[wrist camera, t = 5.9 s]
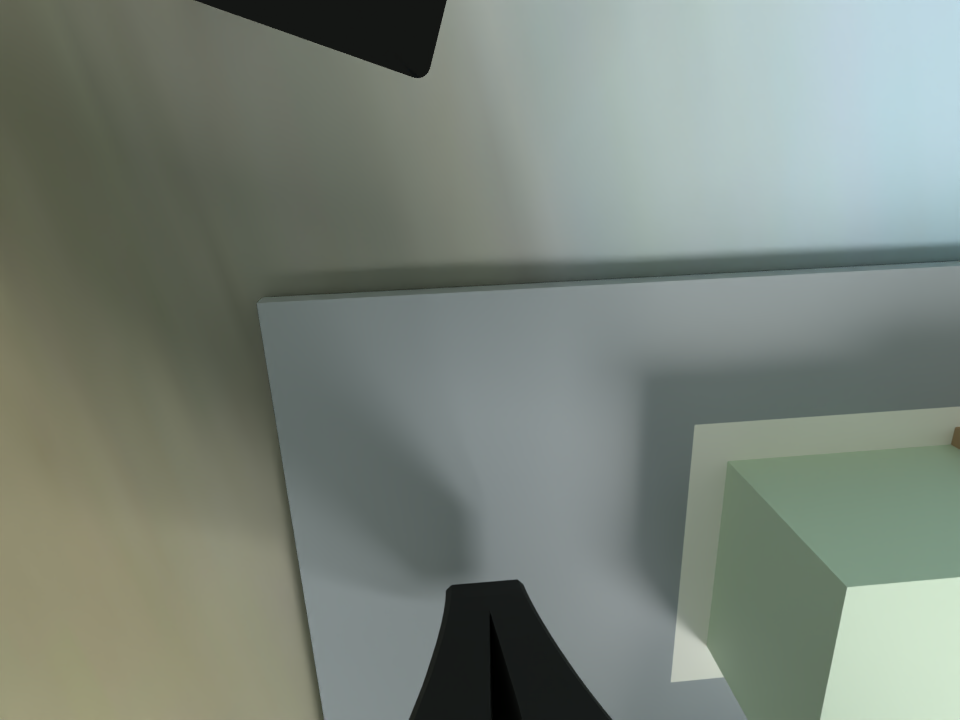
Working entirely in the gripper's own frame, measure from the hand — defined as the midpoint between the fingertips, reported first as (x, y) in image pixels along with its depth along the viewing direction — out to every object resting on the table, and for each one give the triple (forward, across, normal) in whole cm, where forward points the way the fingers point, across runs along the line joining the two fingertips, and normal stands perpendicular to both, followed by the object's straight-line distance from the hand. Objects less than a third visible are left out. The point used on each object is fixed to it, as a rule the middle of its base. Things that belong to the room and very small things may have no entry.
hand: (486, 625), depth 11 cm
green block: (+1, -7, 0) cm, 7 cm away
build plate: (+2, -7, 0) cm, 7 cm away
